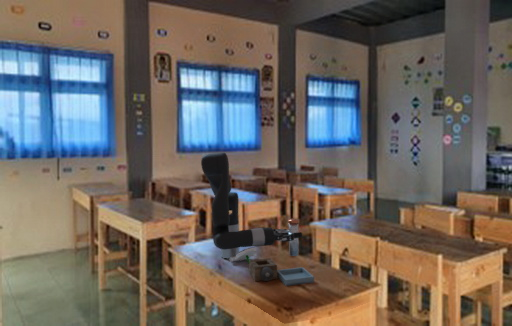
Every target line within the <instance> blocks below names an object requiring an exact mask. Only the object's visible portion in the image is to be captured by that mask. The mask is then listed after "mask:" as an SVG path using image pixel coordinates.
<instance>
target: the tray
mask: <svg viewBox="0 0 512 326" xmlns="http://www.w3.org/2000/svg"><path fill="white" fill-rule="evenodd" d="M277 279H279V280H280V282H281V283H283V285H284V286H285V287H286V286H287V287H290V286H297V285H304V284H312V283H314V282H315V275H313V274H311V273H310V271H308V270H307V269H306V268H304V267H303V266H302V267H294V268H293V267H292V268H291V267H290V268H283V269H277Z"/></svg>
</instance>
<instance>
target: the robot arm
mask: <svg viewBox="0 0 512 326" xmlns="http://www.w3.org/2000/svg"><path fill="white" fill-rule="evenodd" d="M200 164H201V169H202V172H203V175H204V176H205V178H206V179H207V181H208V182H209V185H210V188H211V191H212V192H213V194H214V198H213V200H212V202H211V217H212V241H213V244H214V246H215V247H216V248H218V249H219V250H221V252H220V253H221V258H222V257H224V258H230V257H232V256H235V255H236V254H237V253H239V252H240V248H251V247H266V246H273V245H274V244H275V242H276V241H277V242H282V243H287V242H288V243H289V241H292V240H294V238H298V239H299V238H300V239H302V238H303V233H302V232H300V231H298V232H297V233H289V229H287V228H273V227H270V226H269V227H256V228H252V229H241V230H240V228H239V227H240V226H239V225H240V224H239V223H240V222H239V201H240V200H239V194H238V192H231V190H232V183H231V179H230V164H229V158H228V155H227V153H226V152H215V153H208V154H204V155H203V156H202V158H201V160H200ZM230 211H231V213H230ZM290 236H291V237H290ZM224 258H223V259H224Z"/></svg>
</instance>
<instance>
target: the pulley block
mask: <svg viewBox="0 0 512 326" xmlns="http://www.w3.org/2000/svg"><path fill="white" fill-rule="evenodd" d="M277 270H278V265H277V263H275V262H274V260H272V258H270V257H269V258H260V259H259V258H257V259H252V260H251V259H250V260H249V264H248V271H249V272H248V274H249V273H250V274H249V275H250V276H252V277H251V278H252V279H253V281H254V280H255V281H254V282H259V281H260V280H261V281H264V282H269V281H271V280H275V279H278V277H277ZM261 281H260V282H261Z"/></svg>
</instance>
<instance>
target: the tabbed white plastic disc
mask: <svg viewBox="0 0 512 326" xmlns="http://www.w3.org/2000/svg"><path fill="white" fill-rule="evenodd" d="M257 252H258V251H257V249H256V246H250V247H246V248H244V249H242V250H239V253H237V254H236V255H235V256H232V257H230V258H229V259H228V261H229V263H230V262H231V263H232V262H240V261H244V260H243V259H245V260H246V261H247V263H248V265H249V260H251V259H250V258H252V257H256V256H257V255H258V253H257ZM239 260H240V261H239Z"/></svg>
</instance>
